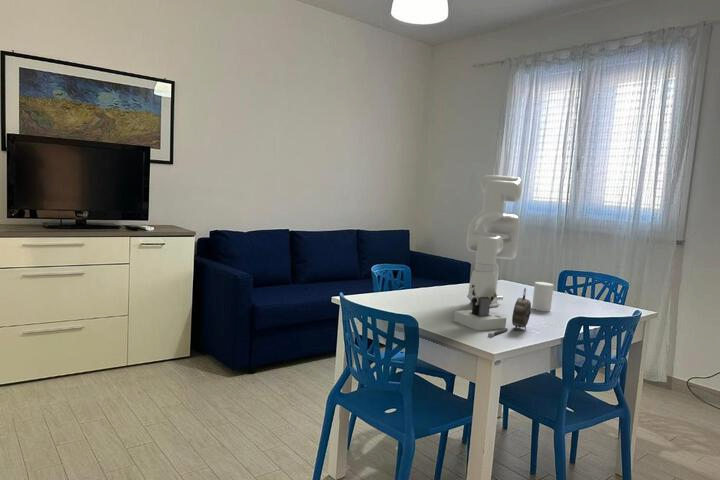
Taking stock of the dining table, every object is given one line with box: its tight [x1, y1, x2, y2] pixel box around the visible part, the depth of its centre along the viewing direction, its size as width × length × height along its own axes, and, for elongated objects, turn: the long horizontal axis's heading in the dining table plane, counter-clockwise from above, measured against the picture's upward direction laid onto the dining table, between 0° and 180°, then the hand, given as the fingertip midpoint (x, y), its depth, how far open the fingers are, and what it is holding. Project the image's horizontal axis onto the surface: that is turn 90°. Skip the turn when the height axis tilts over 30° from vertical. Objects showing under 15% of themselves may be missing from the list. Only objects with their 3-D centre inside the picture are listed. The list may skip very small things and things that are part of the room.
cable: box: [487, 327, 509, 338], centre depth 192 cm, size 14×1×1 cm, turn 140°
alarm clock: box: [511, 287, 532, 332], centre depth 201 cm, size 11×5×16 cm, turn 150°
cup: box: [531, 281, 554, 312], centre depth 241 cm, size 8×8×12 cm
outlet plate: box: [453, 309, 507, 331], centre depth 204 cm, size 14×14×4 cm
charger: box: [473, 297, 491, 317], centre depth 203 cm, size 4×4×8 cm
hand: (480, 313), depth 203 cm, fingers closed on charger, 4 cm apart
